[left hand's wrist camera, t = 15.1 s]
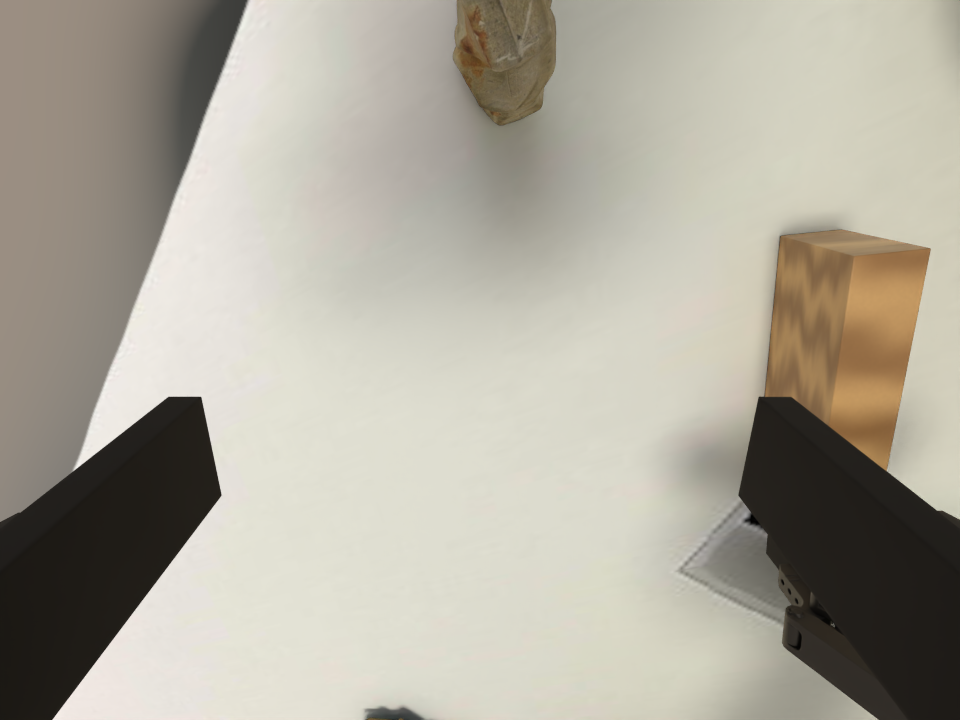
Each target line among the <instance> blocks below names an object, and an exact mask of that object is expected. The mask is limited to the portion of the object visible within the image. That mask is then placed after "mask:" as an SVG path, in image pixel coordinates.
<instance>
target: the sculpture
mask: <svg viewBox="0 0 960 720" xmlns="http://www.w3.org/2000/svg"><path fill="white" fill-rule="evenodd" d="M551 2H552V0H457V18H458V22H457V26H456V29H455V42H456V48H455V50H454V53H453V60H454V62H455V64H456V65H457V67H458V69H459V70H460V72H461V73H462V75H463V77H464V79H465V81H466V83H467V85H468V86H469V88H470V90H471V91H472V93H473V95H474V96H475V98H476V99H477V102H478V104H479V106H480V107H482V108H483V109H484V111H485V112H486V113H487V115H488V116H489V117H490V118H491V119H492V120H493V121H494V122H495V123H496V124H498V125H505V124H508V123H511V122H514V121H517V120H519V119H521V118H523V117H526V116H528V115H530V114H532V113H534V112H536V111H538V110H539V109H540V108H541V107H542V103H543V92H544V86H545V85H546V83H547V82H548V80H549V79H550V77H551V76H552V74H553V72H554V69H555V62H556V24H555V18H554V15H553V13H552V11H551V9H550V6H551Z"/></svg>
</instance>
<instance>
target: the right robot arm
mask: <svg viewBox="0 0 960 720" xmlns="http://www.w3.org/2000/svg"><path fill="white" fill-rule="evenodd" d="M766 553H767V555H768V556H769V557H770V559H771V560H772V561H773V563H774V564H775V565H776V567H777V568H778V569H779V578H778V583H779V587H780V589H781V590H782V592H783V593H784V594H785V596H786V597H787V598H788V600H789V601H790V603H791V604H792V605H791V606H788V607H787V608H786V610H785V619H784V628H783V638H782V644H783V646H784V647H785V648H786V649H787V650H788V651H790V652H791V653H792V654H794V655H795V656H796V657H797V658H799V659H800V660H801V661H803V662H804V663H805V664H807V665H808V666H809V667H811V668H812V669H813V670H814V671H816V672H817V673H818V674H820V675H821V676H822V677H824V678H825V679H826V680H828V681H829V682H830V683H831V684H833V685H834V686H835V687H837V688H838V689H839V690H841V691H842V692H843V693H845V694H846V695H847V696H848V697H850V698H851V699H852V700H854V701H855V702H856V703H858V704H859V705H860V706H862V707H863V708H864V709H865V710H867V711H868V712H869V713H871V714H872V715H873V716H875V717H876V718H877V719H879V720H908V719H907V718H906V717H905V715H904V714H903V713H902V711H901V710H900V709H899V707H898V706H897V705H896V703H895V702H894V701H893V699H892V698H891V697H890V696H889V694H888V693H887V692H886V690H885V689H884V688H883V686H882V685H881V684H880V682H879V681H878V680H877V678H876V677H875V676H874V674H873V673H872V672H871V670H870V669H869V668H868V666H867V665H866V664H865V662H864V661H863V660H862V658H861V657H860V656H859V654H858V653H857V652H856V650H855V649H854V648H853V647H852V645H851V644H850V643H849V641H848V640H847V639H846V637H845V636H844V635H843V633H842V632H841V631H840V629H839V628H838V627H837V625H836V624H835V623H834V621H833V620H832V619H831V617H830V616H829V615H828V613H827V612H826V611H825V609H824V608H823V607H822V605H821V604H820V603H819V601H818V600H817V599H816V597H815V596H814V595H813V594H812V592H811V591H810V590H809V588H808V587H807V586H806V584H805V583H804V582H803V580H802V579H801V578H800V576H799V575H798V574H797V572H796V571H795V570H794V568H793V567H792V566H791V564H790V563H789V562H788V560H787V559H786V558H785V556H784V555H783V554H782V552H781V551H780V550H779V548H778V547H777V546H776V545H775V543H774V542H773V541H772V539H771V538H770V537H769V535H768V538H767V550H766ZM833 623H834V624H835V627H833V626H831V624H833Z"/></svg>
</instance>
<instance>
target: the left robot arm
mask: <svg viewBox="0 0 960 720" xmlns="http://www.w3.org/2000/svg"><path fill="white" fill-rule="evenodd" d="M220 497H221V490H220V485H219V481H218V476H217V471H216V466H215V461H214V456H213V452H212V447H211V442H210V437H209V432H208V427H207V423H206V418H205V413H204V408H203V403H202V398H201V397H168V398H166V399H165V400H164V401H163V402H161V403H160V404H159V405H158V406H156V407H155V408H154V409H152V410H151V411H150V412H149V413H147V414H146V415H145V416H143V417H142V418H141V419H140V420H138V421H137V422H136V423H135V424H133V425H132V426H131V427H129V428H128V429H127V430H126V431H124V432H123V433H122V434H121V435H119V436H118V437H117V438H115V439H114V440H113V441H112V442H110V443H109V444H108V445H106V446H105V447H104V448H103V449H101V450H100V451H99V452H98V453H96V454H95V455H94V456H92V457H91V458H90V459H89V460H87V461H86V462H85V463H83V464H82V465H81V466H80V467H78V468H77V469H76V470H75V471H73V472H72V473H71V474H69V475H68V476H67V477H66V478H64V479H63V480H62V481H60V482H59V483H58V484H57V485H55V486H54V487H53V488H52V489H50V490H49V491H48V492H46V493H45V494H44V495H43V496H41V497H40V498H39V499H37V500H36V501H35V502H34V503H32V504H31V505H30V506H29V507H27V508H26V509H25V510H23V511H22V512H21V513H17V514H15V515H13V516H11V517H9V518H7V519H5V520H3V521H2V522H0V720H52V719H53V718H54V717H55V715H56V714H57V713H58V711H59V710H60V709H61V707H62V706H63V705H64V703H65V702H66V701H67V699H68V698H69V697H70V696H71V694H72V693H73V692H74V690H75V689H76V688H77V686H78V685H79V684H80V682H81V681H82V680H83V678H84V677H85V676H86V674H87V673H88V672H89V670H90V669H91V668H92V666H93V665H94V664H95V662H96V661H97V660H98V658H99V657H100V656H101V654H102V653H103V652H104V650H105V649H106V648H107V646H108V645H109V644H110V643H111V641H112V640H113V639H114V637H115V636H116V635H117V633H118V632H119V631H120V629H121V628H122V627H123V625H124V624H125V623H126V621H127V620H128V619H129V617H130V616H131V615H132V613H133V612H134V611H135V609H136V608H137V607H138V605H139V604H140V603H141V601H142V600H143V599H144V597H145V596H146V595H147V594H148V592H149V591H150V590H151V588H152V587H153V586H154V584H155V583H156V582H157V580H158V579H159V578H160V576H161V575H162V574H163V572H164V571H165V570H166V568H167V567H168V566H169V564H170V563H171V562H172V560H173V559H174V558H175V556H176V555H177V554H178V552H179V551H180V550H181V548H182V547H183V546H184V545H185V543H186V542H187V541H188V539H189V538H190V537H191V535H192V534H193V533H194V531H195V530H196V529H197V527H198V526H199V525H200V523H201V522H202V521H203V519H204V518H205V517H206V515H207V514H208V513H209V511H210V510H211V509H212V507H213V506H214V505H215V503H216V502H217V501H218V499H219V498H220ZM739 497H740V498H741V499H742V501H743V502H744V503H745V505H746V506H747V507H748V509H749V510H750V511H751V513H752V514H753V515H754V517H755V518H756V519H757V521H758V522H759V523H760V525H761V526H762V527H763V529H764V530H765V531H766V533H767V534H768V535H769V537H770V538H771V539H772V541H773V542H774V543H775V545H776V546H777V547H778V548H779V550H780V551H781V552H782V554H783V555H784V556H785V558H786V559H787V560H788V562H789V563H790V564H791V566H792V567H793V568H794V570H795V571H796V572H797V574H798V575H799V576H800V578H801V579H802V580H803V582H804V583H805V584H806V586H807V587H808V588H809V590H810V591H811V592H812V594H813V595H814V596H815V597H816V599H817V600H818V601H819V603H820V604H821V605H822V607H823V608H824V609H825V611H826V612H827V613H828V615H829V616H830V617H831V619H832V620H833V621H834V623H835V624H836V625H837V627H838V628H839V629H840V631H841V632H842V633H843V635H844V636H845V637H846V639H847V640H848V641H849V643H850V644H851V645H852V647H853V648H854V649H855V650H856V652H857V653H858V654H859V656H860V657H861V658H862V660H863V661H864V662H865V664H866V665H867V666H868V668H869V669H870V670H871V672H872V673H873V674H874V676H875V677H876V678H877V680H878V681H879V682H880V684H881V685H882V686H883V688H884V689H885V690H886V692H887V693H888V694H889V696H890V697H891V698H892V699H893V701H894V702H895V703H896V705H897V706H898V707H899V709H900V710H901V711H902V713H903V714H904V715H905V717H906V718H907V719H908V720H960V520H959V519H957V518H955V517H953V516H951V515H949V514H948V513H946V512H944V511H937V510H935V509H934V508H933V507H931V506H930V505H929V504H928V503H926V502H925V501H924V500H923V499H921V498H920V497H919V496H917V495H916V494H915V493H914V492H912V491H911V490H910V489H908V488H907V487H906V486H905V485H903V484H902V483H901V482H900V481H898V480H897V479H896V478H894V477H893V476H892V475H891V474H889V473H888V472H887V471H885V470H884V469H883V468H882V467H880V466H879V465H878V464H877V463H875V462H874V461H873V460H871V459H870V458H869V457H868V456H866V455H865V454H864V453H862V452H861V451H860V450H859V449H857V448H856V447H855V446H854V445H852V444H851V443H850V442H848V441H847V440H846V439H845V438H843V437H842V436H841V435H839V434H838V433H837V432H836V431H834V430H833V429H832V428H831V427H829V426H828V425H827V424H825V423H824V422H823V421H822V420H820V419H819V418H818V417H817V416H815V415H814V414H813V413H811V412H810V411H809V410H808V409H806V408H805V407H804V406H802V405H801V404H800V403H799V402H797V401H796V400H795V399H794V398H792V397H759V398H758V403H757V408H756V413H755V418H754V423H753V427H752V432H751V437H750V442H749V447H748V452H747V456H746V461H745V466H744V471H743V476H742V481H741V485H740V490H739Z"/></svg>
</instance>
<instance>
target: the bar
mask: <svg viewBox="0 0 960 720" xmlns="http://www.w3.org/2000/svg"><path fill="white" fill-rule="evenodd" d="M930 250H931V249H930V248H926V247H921V246H917V245H912V244H907V243H902V242H898V241H893V240H888V239H884V238H879V237H874V236H870V235H865V234H860V233H855V232H851V231H846V230H832V231H822V232H813V233H803V234H793V235H784V236H781V237H780V247H779V257H778V267H777V278H776V288H775V298H774V308H773V319H772V329H771V339H770V349H769V360H768V370H767V380H766V390H765V397H792V398H794V399H795V400H796V401H797V402H799V403H800V404H801V405H802V406H804V407H805V408H806V409H808V410H809V411H810V412H811V413H813V414H814V415H815V416H817V417H818V418H819V419H820V420H822V421H823V422H824V423H825V424H827V425H828V426H829V427H831V428H832V429H833V430H834V431H836V432H837V433H838V434H839V435H841V436H842V437H843V438H845V439H846V440H847V441H848V442H850V443H851V444H852V445H854V446H855V447H856V448H857V449H859V450H860V451H861V452H862V453H864V454H865V455H866V456H868V457H869V458H870V459H871V460H873V461H874V462H875V463H877V464H878V465H879V466H880V467H882V468H883V469H884V470H885V471H887V466H888V461H889V456H890V451H891V446H892V441H893V436H894V431H895V426H896V421H897V416H898V411H899V406H900V401H901V396H902V391H903V386H904V381H905V376H906V371H907V366H908V361H909V356H910V350H911V345H912V340H913V335H914V330H915V325H916V320H917V315H918V310H919V305H920V300H921V295H922V290H923V285H924V280H925V275H926V270H927V265H928V260H929V255H930Z"/></svg>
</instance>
